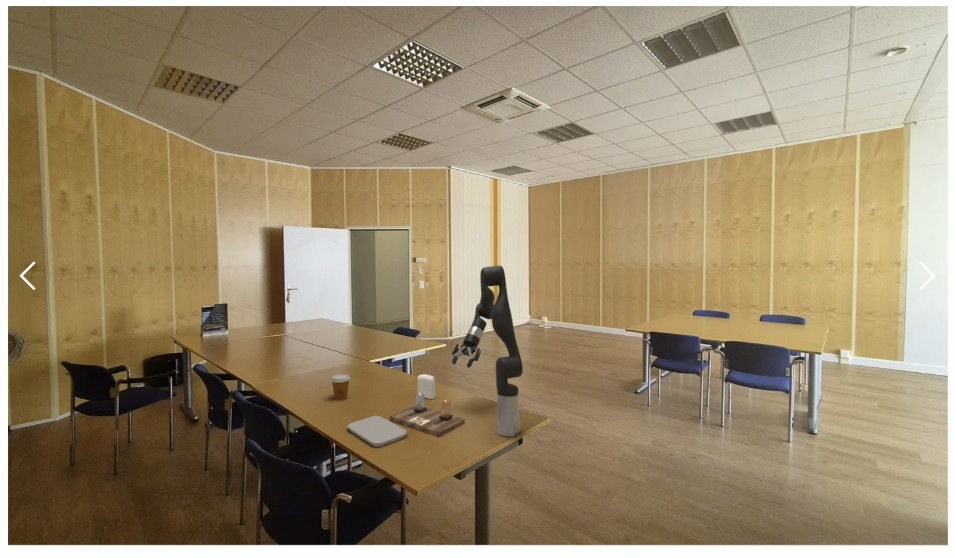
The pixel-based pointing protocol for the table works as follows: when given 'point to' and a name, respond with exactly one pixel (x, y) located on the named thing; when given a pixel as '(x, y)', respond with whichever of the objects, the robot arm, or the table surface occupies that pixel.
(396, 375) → the table surface
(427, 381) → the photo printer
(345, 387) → the disposable coffee cup
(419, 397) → the grey switch
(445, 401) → the copper switch
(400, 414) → the switch board
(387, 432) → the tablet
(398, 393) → the table surface
